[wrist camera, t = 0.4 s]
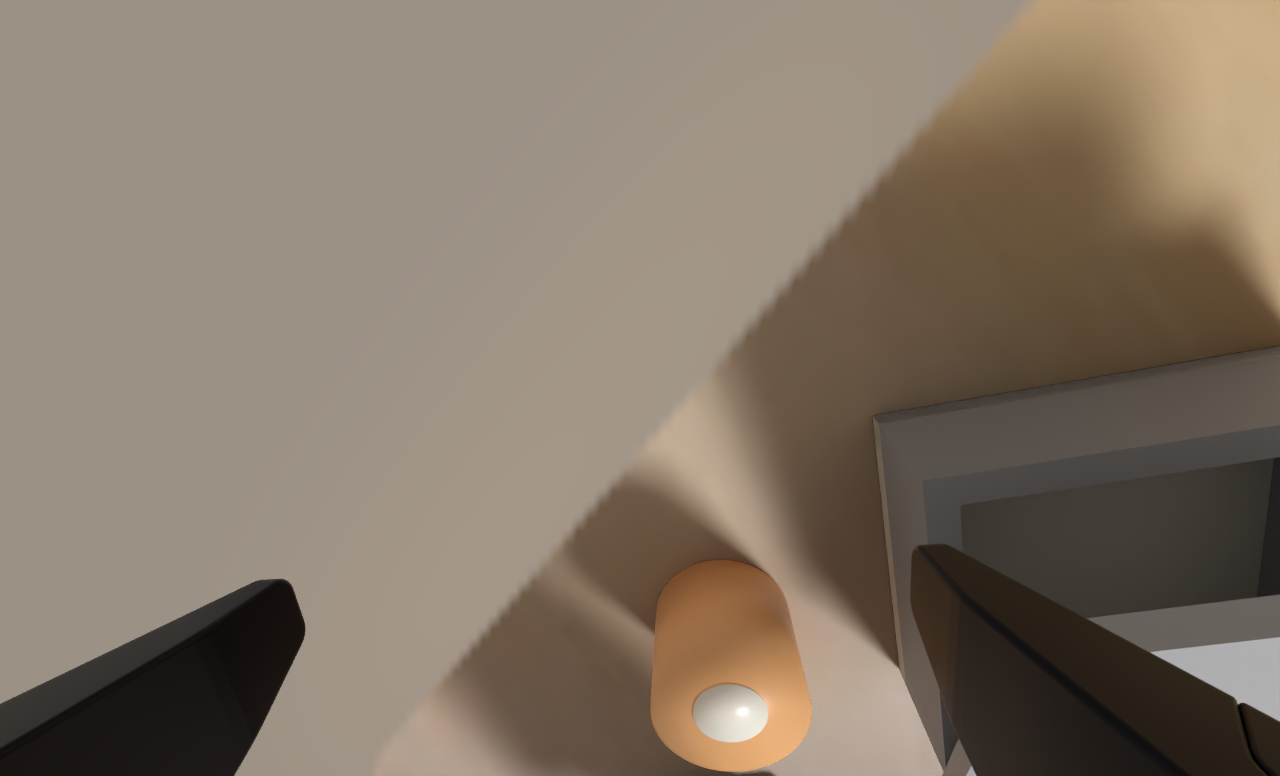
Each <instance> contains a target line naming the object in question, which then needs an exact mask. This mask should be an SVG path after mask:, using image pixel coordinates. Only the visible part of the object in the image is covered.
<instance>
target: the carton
mask: <svg viewBox="0 0 1280 776" xmlns="http://www.w3.org/2000/svg"><path fill="white" fill-rule="evenodd" d="M872 417H873V426H874V436H875V445H876V454H877V464H878V473H879V483H880V492H881V501H882V511H883V520H884V530H885V539H886V548H887V558H888V567H889V576H890V586H891V595H892V605H893V614H894V623H895V633H896V642H897V652H898V661H899V670H900V672H901V674H902V677H903V679H904V681H905V684H906V686H907V688H908V691H909V693H910V695H911V698H912V700H913V702H914V704H915V707H916V709H917V711H918V714H919V716H920V718H921V721H922V723H923V725H924V728H925V730H926V732H927V734H928V737H929V739H930V741H931V744H932V746H933V748H934V751H935V753H936V755H937V757H938V760H939V762H940V764H941V767H942V769H943V771H945V768H946V766H947V764H948V761H949V759H950V757H951V755H952V752H953V750H954V748H955V745H956V743H957V741H958V736H957V734H956V732H955V729H954V727H953V725H952V723H951V720H950V717H949V715H948V712H947V709H946V707H945V704H944V701H943V698H942V696H941V693H940V690H939V687H938V684H937V681H936V679H935V676H934V673H933V670H932V667H931V665H930V662H929V659H928V656H927V653H926V650H925V648H924V645H923V642H922V639H921V636H920V633H919V631H918V628H917V625H916V622H915V619H914V616H913V613H912V609H911V604H910V579H911V555H912V551H913V548H914V547H915V546H917V545H924V544H941V543H942V544H947V545H950V546H952V547H954V548H955V549H957V550H959V551H961V552H963V553H965V554H967V555H969V556H970V557H972V558H974V559H976V560H978V561H980V562H982V563H984V564H985V565H987V566H989V567H991V568H993V569H995V570H997V571H999V572H1000V573H1002V574H1004V575H1006V576H1008V577H1010V578H1012V579H1014V580H1015V581H1017V582H1019V583H1021V584H1023V585H1025V586H1027V587H1029V588H1030V589H1032V590H1034V591H1036V592H1038V593H1040V594H1042V595H1043V596H1045V597H1047V598H1049V599H1051V600H1053V601H1055V602H1057V603H1058V604H1060V605H1062V606H1064V607H1066V608H1068V609H1070V610H1072V611H1073V612H1075V613H1077V614H1079V615H1081V616H1083V617H1085V618H1093V617H1101V616H1109V615H1117V614H1125V613H1133V612H1141V611H1150V610H1158V609H1166V608H1174V607H1182V606H1190V605H1198V604H1207V603H1215V602H1223V601H1231V600H1239V599H1247V598H1255V597H1264V596H1272V595H1280V346H1276V347H1270V348H1264V349H1259V350H1253V351H1247V352H1241V353H1235V354H1230V355H1224V356H1218V357H1212V358H1206V359H1200V360H1195V361H1189V362H1183V363H1177V364H1171V365H1166V366H1160V367H1154V368H1148V369H1142V370H1137V371H1131V372H1125V373H1119V374H1113V375H1107V376H1102V377H1096V378H1090V379H1084V380H1078V381H1073V382H1067V383H1061V384H1055V385H1049V386H1044V387H1038V388H1032V389H1026V390H1020V391H1015V392H1009V393H1003V394H997V395H991V396H985V397H980V398H974V399H968V400H962V401H956V402H951V403H945V404H939V405H933V406H927V407H922V408H916V409H910V410H904V411H898V412H892V413H887V414H881V415H875V416H872Z"/></svg>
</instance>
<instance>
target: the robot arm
mask: <svg viewBox="0 0 1280 776" xmlns="http://www.w3.org/2000/svg"><path fill="white" fill-rule="evenodd" d="M910 604H911V609H912V613H913V616H914V619H915V622H916V625H917V628H918V631H919V633H920V636H921V639H922V642H923V645H924V648H925V650H926V653H927V656H928V659H929V662H930V665H931V667H932V670H933V673H934V676H935V679H936V681H937V684H938V687H939V690H940V693H941V696H942V698H943V701H944V704H945V707H946V709H947V712H948V715H949V717H950V720H951V723H952V725H953V727H954V729H955V732H956V734H957V736H958V738H959V740H960V743H961V745H962V747H963V749H964V751H965V753H966V755H967V757H968V759H969V761H970V763H971V766H972V768H973V770H974V772H975V774H976V776H1280V721H1278V720H1276V719H1274V718H1273V717H1271V716H1269V715H1267V714H1265V713H1263V712H1261V711H1259V710H1258V709H1256V708H1254V707H1252V706H1250V705H1248V704H1246V703H1239V704H1238V703H1237V700H1236V699H1235V698H1234V697H1233V696H1231V695H1229V694H1227V693H1225V692H1223V691H1222V690H1220V689H1218V688H1216V687H1214V686H1212V685H1210V684H1208V683H1207V682H1205V681H1203V680H1201V679H1199V678H1197V677H1195V676H1193V675H1192V674H1190V673H1188V672H1186V671H1184V670H1182V669H1180V668H1178V667H1177V666H1175V665H1173V664H1171V663H1169V662H1167V661H1165V660H1163V659H1162V658H1160V657H1158V656H1156V655H1154V654H1152V653H1150V652H1148V651H1147V650H1145V649H1143V648H1141V647H1139V646H1137V645H1135V644H1133V643H1132V642H1130V641H1128V640H1126V639H1124V638H1122V637H1120V636H1118V635H1117V634H1115V633H1113V632H1111V631H1109V630H1107V629H1105V628H1103V627H1102V626H1100V625H1098V624H1096V623H1094V622H1092V621H1090V620H1088V619H1087V618H1085V617H1083V616H1081V615H1079V614H1077V613H1075V612H1073V611H1072V610H1070V609H1068V608H1066V607H1064V606H1062V605H1060V604H1058V603H1057V602H1055V601H1053V600H1051V599H1049V598H1047V597H1045V596H1043V595H1042V594H1040V593H1038V592H1036V591H1034V590H1032V589H1030V588H1029V587H1027V586H1025V585H1023V584H1021V583H1019V582H1017V581H1015V580H1014V579H1012V578H1010V577H1008V576H1006V575H1004V574H1002V573H1000V572H999V571H997V570H995V569H993V568H991V567H989V566H987V565H985V564H984V563H982V562H980V561H978V560H976V559H974V558H972V557H970V556H969V555H967V554H965V553H963V552H961V551H959V550H957V549H955V548H954V547H952V546H950V545H947V544H942V543H941V544H924V545H917V546H915V547H914V548H913V551H912V555H911V579H910ZM304 636H305V623H304V619H303V616H302V613H301V610H300V607H299V604H298V602H297V599H296V596H295V593H294V590H293V587H292V585H291V584H290V583H289V582H288V581H286V580H284V579H269V580H259V581H255V582H253V583H251V584H249V585H247V586H245V587H243V588H240V589H238V590H236V591H234V592H232V593H230V594H228V595H226V596H224V597H222V598H220V599H218V600H216V601H214V602H211V603H209V604H207V605H205V606H203V607H201V608H199V609H197V610H195V611H193V612H190V613H188V614H186V615H184V616H182V617H180V618H178V619H176V620H174V621H172V622H170V623H168V624H166V625H163V626H161V627H159V628H157V629H155V630H153V631H151V632H149V633H147V634H145V635H143V636H141V637H138V638H136V639H134V640H132V641H130V642H128V643H126V644H124V645H122V646H120V647H118V648H116V649H113V650H112V651H109V652H107V653H105V654H103V655H101V656H99V657H97V658H95V659H93V660H91V661H89V662H86V663H85V664H82V665H80V666H78V667H76V668H74V669H72V670H70V671H68V672H66V673H64V674H62V675H59V676H57V677H55V678H53V679H51V680H49V681H47V682H45V683H43V684H41V685H39V686H36V687H35V688H33V689H30V690H28V691H26V692H24V693H22V694H20V695H18V696H16V697H14V698H12V699H9V700H8V701H5V702H3V703H1V704H0V776H234V775H235V773H236V772H237V770H238V768H239V767H240V765H241V763H242V762H243V760H244V758H245V756H246V755H247V753H248V751H249V749H250V748H251V746H252V744H253V742H254V740H255V738H256V737H257V735H258V733H259V731H260V729H261V727H262V725H263V723H264V721H265V719H266V717H267V715H268V712H269V710H270V708H271V706H272V704H273V702H274V700H275V698H276V696H277V694H278V692H279V690H280V687H281V686H282V684H283V681H284V679H285V677H286V675H287V673H288V671H289V669H290V667H291V665H292V663H293V661H294V659H295V656H296V655H297V653H298V651H299V649H300V647H301V644H302V642H303V640H304Z"/></svg>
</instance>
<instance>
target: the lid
mask: <svg viewBox="0 0 1280 776" xmlns="http://www.w3.org/2000/svg"><path fill="white" fill-rule="evenodd" d="M1087 619H1088V620H1090V621H1092V622H1094V623H1096V624H1098V625H1100V626H1102V627H1103V628H1105V629H1107V630H1109V631H1111V632H1113V633H1115V634H1117V635H1118V636H1120V637H1122V638H1124V639H1126V640H1128V641H1130V642H1132V643H1133V644H1135V645H1137V646H1139V647H1141V648H1143V649H1145V650H1147V651H1148V652H1150V653H1152V654H1154V655H1156V656H1158V657H1160V658H1162V659H1163V660H1165V661H1167V662H1169V663H1171V664H1173V665H1175V666H1177V667H1178V668H1180V669H1182V670H1184V671H1186V672H1188V673H1190V674H1192V675H1193V676H1195V677H1197V678H1199V679H1201V680H1203V681H1205V682H1207V683H1208V684H1210V685H1212V686H1214V687H1216V688H1218V689H1220V690H1222V691H1223V692H1225V693H1227V694H1229V695H1231V696H1233V697H1234V698H1235V699H1236V700H1237V703H1238V704H1239V703H1246V704H1248V705H1250V706H1252V707H1254V708H1256V709H1258V710H1259V711H1261V712H1263V713H1265V714H1267V715H1269V716H1271V717H1273V718H1274V719H1276V720H1278V721H1280V595H1272V596H1264V597H1255V598H1247V599H1239V600H1231V601H1223V602H1215V603H1207V604H1198V605H1190V606H1182V607H1174V608H1166V609H1158V610H1150V611H1141V612H1133V613H1125V614H1117V615H1109V616H1101V617H1093V618H1087ZM942 776H976V774H975V772H974V770H973V768H972V766H971V763H970V761H969V759H968V757H967V755H966V753H965V751H964V749H963V747H962V745H961V743H960V740H959V738H958V741H957V743H956V745H955V748H954V750H953V752H952V755H951V757H950V759H949V761H948V764H947V766H946V768H945V771H944V773H943V775H942Z"/></svg>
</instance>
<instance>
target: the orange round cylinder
mask: <svg viewBox="0 0 1280 776" xmlns="http://www.w3.org/2000/svg"><path fill="white" fill-rule="evenodd" d="M650 714H651V719H652V723H653V726H654V728H655V730H656V732H657V734H658V736H659V737H660V739H661V740H662V741H663V743H664V744H665V745H666V746H667V747H668V748H669V749H670V750H671V751H673V752H674V753H675V754H677V755H678V756H680V757H681V758H683V759H684V760H686V761H688V762H691V763H693V764H695V765H698V766H701V767H704V768H708V769H712V770H718V771H730V772H736V771H748V770H754V769H758V768H762V767H765V766H768V765H770V764H773V763H775V762H777V761H779V760H781V759H782V758H784V757H786V756H787V755H789V754H790V753H791V752H792V751H793V750H794V749H796V747H797V746H798V745H799V744H800V743H801V742H802V740H803V739H804V737H805V736H806V734H807V731H808V729H809V727H810V723H811V718H812V705H811V700H810V696H809V692H808V688H807V684H806V679H805V675H804V671H803V667H802V663H801V659H800V654H799V650H798V646H797V642H796V638H795V634H794V630H793V625H792V621H791V617H790V613H789V609H788V605H787V601H786V598H785V596H784V593H783V592H782V590H781V588H780V587H779V585H778V584H777V583H776V582H775V581H774V580H773V579H772V578H771V577H770V576H769V575H767V574H766V573H765V572H763V571H762V570H760V569H758V568H756V567H754V566H752V565H749V564H746V563H743V562H739V561H733V560H710V561H705V562H700V563H697V564H694V565H692V566H690V567H687V568H685V569H684V570H682V571H680V572H679V573H678V574H676V575H675V576H674V577H673V578H672V579H671V580H670V581H669V582H668V583H667V584H666V586H665V587H664V588H663V590H662V592H661V594H660V596H659V599H658V602H657V608H656V622H655V638H654V654H653V670H652V686H651V702H650Z"/></svg>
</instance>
